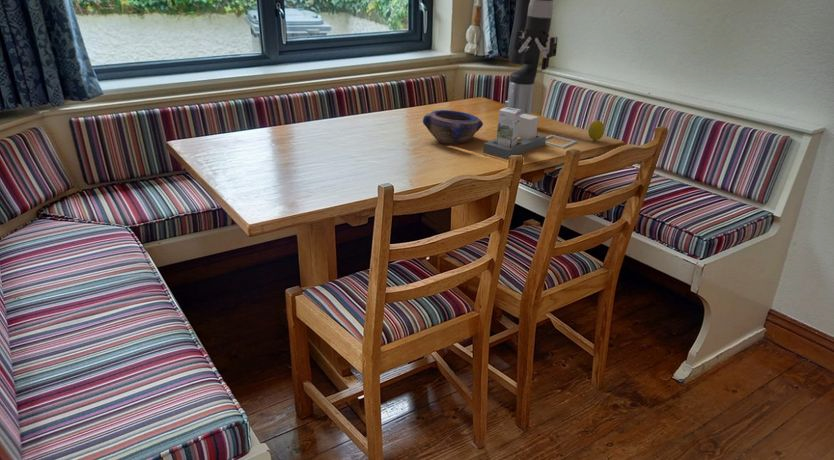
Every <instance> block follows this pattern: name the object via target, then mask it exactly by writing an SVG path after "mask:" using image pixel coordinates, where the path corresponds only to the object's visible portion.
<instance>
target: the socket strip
mask: <svg viewBox="0 0 834 460" xmlns="http://www.w3.org/2000/svg"><path fill="white" fill-rule="evenodd" d="M546 137H547V135H543V134H541V133H540V134H539V133H536V138H535V139H532V140H530V141H528V140H524V139H521V137H517V146H514V147H511V148H508V147H504V146H501V145H497V144H496V138H494V139H492V140H489V141H486V142H484V143H483V149H482V150H483V151H482V152H483V153H485V154H483V153H482V155H483V156H486V157H490V158H493V159H496V160H501V161H503V162H506V163H509V161H507V160H509V159H508V158H509V156H511V155H518V156H521V155H523V154H526V153H528V152H530V151H532V150H535V149H538V148H540V147H542V146H545V145H546V144H545V141H546V142H547V139H546ZM487 154H488V155H487ZM489 155H492V156H489ZM493 156H495V157H493ZM496 157H497V158H496ZM498 157H500V158H498ZM501 158H503V159H501ZM504 159H505V160H504Z"/></svg>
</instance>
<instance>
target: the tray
mask: <svg viewBox="0 0 834 460" xmlns="http://www.w3.org/2000/svg"><path fill="white" fill-rule="evenodd" d="M551 138H554V139H559V140H564V141H567V142H568V143H566V144H564V145H560V144H557V143H553V142H549V141H547V140H548V139H551ZM577 142H578V141H577V140H575V139H570V138H566V137H562V136H557V135H555V134H549V135H546V141H545V145H548V146H552V147H557V148H561V149H565V148H566V147H567V148H568V147H570V146H573V145H575V144H576V143H577Z"/></svg>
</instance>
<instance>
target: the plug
mask: <svg viewBox="0 0 834 460" xmlns="http://www.w3.org/2000/svg"><path fill="white" fill-rule="evenodd" d="M538 123H539V116H538V115H537V116H536V115H533V114H530V115H529V114H522V115H520V122H519V129H518V137H521V139H524V140H528V141H530V140H532V139H535V138H536V134H537V131H538Z"/></svg>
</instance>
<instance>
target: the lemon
mask: <svg viewBox="0 0 834 460" xmlns="http://www.w3.org/2000/svg"><path fill="white" fill-rule="evenodd" d="M588 127H589V128H588V132H587V133H588V136H589V138H590V139H591V140H592V141H593V142H596V141H598V140H600V139H602V138H603V136H604V134H605V125H604V123H603V122H602V121H601V120H600V119H596V120H594V121H593V122H591V124H590V125H589V126H588Z"/></svg>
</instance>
